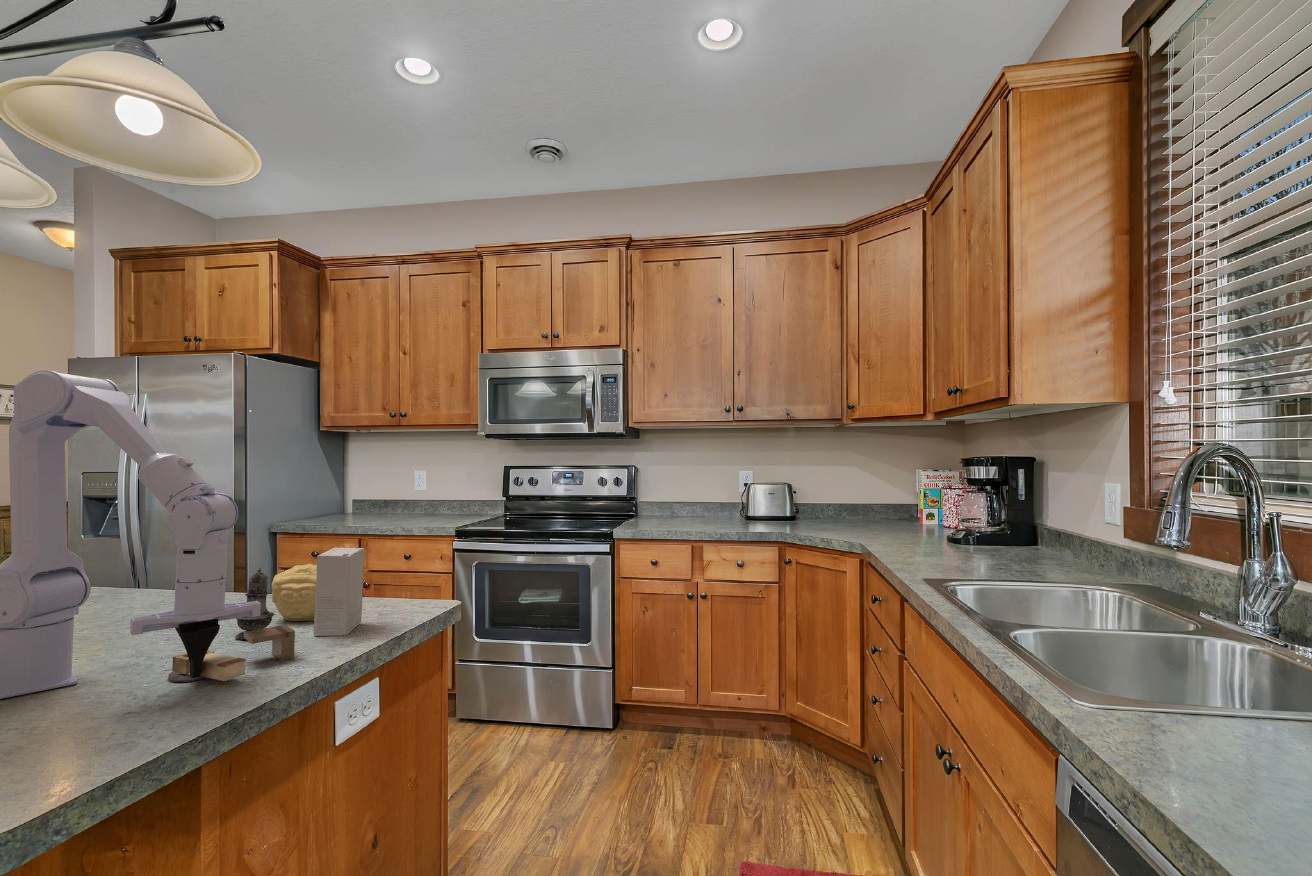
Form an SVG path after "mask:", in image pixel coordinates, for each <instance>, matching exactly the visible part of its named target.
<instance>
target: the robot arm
mask: <svg viewBox="0 0 1312 876" xmlns="http://www.w3.org/2000/svg"><path fill="white" fill-rule="evenodd" d="M130 401H131V399H130V397H129V396H128V395H127V394H126V393H125V392H123V391H122V390H121V388H120V386H119V385H118V384H117V383H115V382H114V381H112V380H110V379H107V378H98V377H95V378H94V377H89V376H81V375H75V374H68V373H61V372H58V371H54V370H52V369H51V370H49V369H39V370H36V371H33V372H32V373H30V374H29V375H27V376H26V377H25V378H24V379H22V380H21V381H19V382H18V383H16V384H15V385H14V386H13V415H12V418H11V421H10V424H9V427H8V452H9V453H8V455H9V456H8V457H9V458H8V459H9V463H8V464H9V496H10V497H9V500H10V504H9V505H10V540H11V541H10V547H11V553H10V554H11V555H9V556H8V557H7V558H6V559H5V560H3V561H2V562H1V563H0V700H2V699H7V698H11V697H16V696H22V695H28V694H33V693H36V692H37V693H38V692H42V691H47V690H51V689H57V688H62V687H67V686H73V685H76V684H77V683H78V679H77V674H76V672H75V668H74V667H73V652H74V632H75V631H74V630H75V629H74V627H75V616H76V615H78V614H79V612H80V610H79V609H80V607H82V606H83V605H84V604H85V603H86V602H87V601H88V599H89V597H90V594H91V590H92V589H91V588H92V586H91V582H90V579H89V577H88V575H87V574H86V572H85V568H84V560H83V558H82V557H80V556H79V555H77V553H74V552H73V551H71V550H70V549H69V548H68V520H67V519H68V517H67V514H68V513H67V481H66V480H67V475H66V474H67V473H66V472H67V471H66V442H67V441H68V440H69V439H70V438H71V437H73V436H75V435H76V434H77V433H78V432H81V431H83V430H85V429H88V428H91V427H96V428H99V430H101V431H102V432H103V433H104V434H105V435H106V436H108V437H109V438H110V439H111V440H112V442H114V443H115V444H116V445H117V446H118V447H119V448H120V449H122V451H123V452H125V454H127V456H128V457H130V458H131V459H132V460H133V461H134V462H135V463H136V464H137V465H138V466H139V472H138V480H139V481H140V482H141V483H142V485H144V487H145V488H146V489H147V490H148V491H149V492H150V493H151V494H152V495H153V496H154V497H155V499H156V500H157V501H158V502H159V503H160V504H161V505H162V506H163V507H164V509H165V510H167V512H168V513H169V514H170V515H167V516H166V517H167V519H166V520H167V525H168V528H169V529H170V530H171V532H172V533H173V535H174V537H175V538H174V539H175V542H174V543H175V546H176V554H177V555H176V570H175V581H174V582H175V584H174V585H175V586H174V602H173V603H174V604H173V610H170V611H164V612H163V611H162V612H158V613H154V614H149V615H143V616H138V617H132V618H130V630H129V631H130V635H131V636H136V635H137V636H138V635H142V634H143V633H148V632H155V631H162V630H163V631H164V630H167V629H169V630H170V629H175V630H176V633H177V634H178V636H179V639H180V640H181V642H182V644H183V647H184V649H185V653H187V655H188V658H189V661H190V676H191V677H192V678H197V677H200V676H201V666H202V663H203V660H204V658H205V655H206V653H207V651H208V650H209V649H210V646H211V645H212V643H213V641H214V640H215V638H216V637H217V635H218V634H219V632H220V629H221V628H220V627H221V625H220V624H219V622H221V621H226V620H227V621H229V620H234V619H236V618H242V617H248V616H251V617H255V616H260V610H261V603H260V602H258V601H252V602H247V601H245V602H244V601H243V602H242V601H241V602H233V603H225V602H226V582H227V581H226V580H227V565H228V549H229V548H228V547H229V545H228V543H229V542H228V541H229V530H230V529H231V528H233V526H234V525H235V524H236V523H237V520H238V519H239V508H238V505H237V504H236V501H234V498H233V497H232V496H231V495H229V494H227V493H223V492H217V491H216V490H215V489H216V487H214V486H213V485H212V483H207V482H206V481H205V479H203V477H202V476H201V475H200V474H199V472H197V471H196V470H195V469H194V468H193V465H195V463H194V462H193V461H192V459H190V457H184V456H183V455H181V454H178V453H168V452H166V450H165V449H164V448H163V446H162V445H161V444H160V442H159V441H158V440H157V439H156V438H155V436H154V435H153V434H152V433H151V431H150V430H149V429H148V428H147V426H146V425H145V424H144V423H143V420H141V418H139V416H138V415H137V413H136V412H135V411H134V410H133V408H132V407H131V405H130V403H131V402H130Z"/></svg>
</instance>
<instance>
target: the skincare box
mask: <svg viewBox="0 0 1312 876" xmlns="http://www.w3.org/2000/svg"><path fill="white" fill-rule="evenodd" d="M364 564H365V548H363V547H333V548H331V549H329V550H327V551H325V552H323V553H320V554H319V555H317V556H316V565H317V576H316V593H315V615H314V620H313V636H315V637H326V636H327V637H333V636H334V637H335V636H336V637H338V636H339V637H340V636H342V635H344V636H348V635H349V634H350V633H351V632H352V631H353V630H354V629H355V628H356V627H358V626H359V625H360V624H361V623H362V614H363V593H364V570H365V569H364V567H365V565H364Z"/></svg>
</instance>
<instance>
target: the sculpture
mask: <svg viewBox="0 0 1312 876" xmlns="http://www.w3.org/2000/svg"><path fill="white" fill-rule="evenodd" d="M316 576H317V564H312V563H307V564H304V565H302V564H301V565H300V564H299V565H298V564H297V565H295V566H293V567H291V568H289V569H287V570H285V571H284V570H283V572H280V573H277V574H275V575H274V577H273V580H272V583H271V601H272V603H273V604H274V605H275V607H276V609H277V611H278V613H279V614H280V616H281V617H282V618H284V619H285V620H287V621H289V622H290V621H291V622H309V621H310V622H311V621H314V615H315V593H316Z"/></svg>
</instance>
